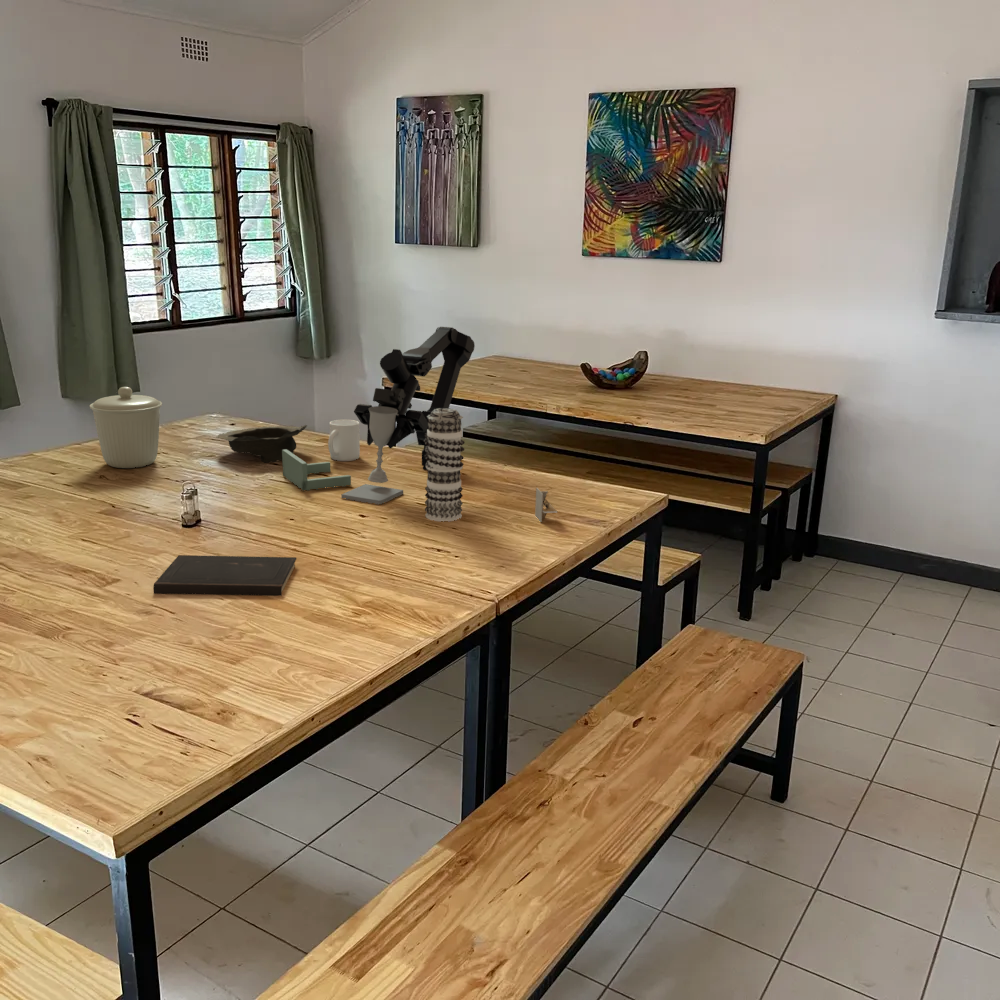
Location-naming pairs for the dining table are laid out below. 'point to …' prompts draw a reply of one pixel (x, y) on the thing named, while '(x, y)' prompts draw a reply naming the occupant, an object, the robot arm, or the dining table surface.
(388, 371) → the robot arm
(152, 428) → the canister
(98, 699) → the dining table surface
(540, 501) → the grey angled bracket piece
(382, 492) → the rubber mat
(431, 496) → the decorative candle
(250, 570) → the hardcover book
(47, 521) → the dining table surface
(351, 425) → the mug
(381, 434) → the chalice
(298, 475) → the u-shaped frame
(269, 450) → the stone bowl
